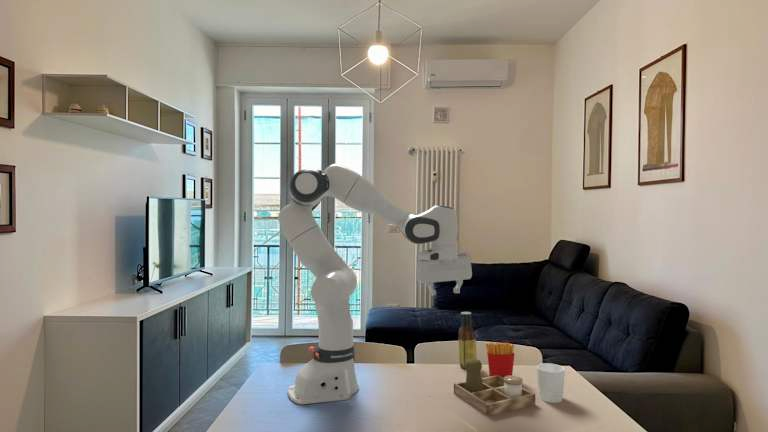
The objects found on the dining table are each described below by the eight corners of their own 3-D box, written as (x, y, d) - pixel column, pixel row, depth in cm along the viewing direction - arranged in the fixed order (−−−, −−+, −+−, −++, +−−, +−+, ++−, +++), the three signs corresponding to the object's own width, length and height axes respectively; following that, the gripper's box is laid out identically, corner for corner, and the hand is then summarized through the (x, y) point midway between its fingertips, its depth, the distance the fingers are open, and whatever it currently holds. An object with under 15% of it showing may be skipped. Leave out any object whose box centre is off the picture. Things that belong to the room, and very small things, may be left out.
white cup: (547, 407, 138) (547, 373, 138) (531, 396, 145) (531, 364, 145) (570, 404, 140) (570, 370, 140) (553, 393, 147) (554, 362, 147)
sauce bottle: (479, 365, 173) (479, 312, 172) (472, 371, 168) (472, 315, 167) (462, 362, 176) (462, 310, 176) (455, 367, 171) (455, 313, 170)
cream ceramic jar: (511, 406, 137) (511, 383, 137) (499, 399, 142) (499, 377, 141) (526, 403, 139) (526, 380, 139) (514, 396, 144) (514, 374, 144)
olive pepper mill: (485, 399, 141) (483, 362, 141) (465, 399, 142) (463, 363, 142) (484, 391, 147) (482, 356, 147) (464, 391, 148) (462, 356, 148)
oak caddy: (487, 418, 131) (487, 405, 131) (453, 395, 147) (453, 383, 146) (535, 406, 138) (535, 394, 138) (498, 386, 154) (498, 374, 154)
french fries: (512, 378, 160) (512, 340, 160) (515, 383, 156) (515, 344, 155) (485, 378, 161) (485, 340, 160) (487, 383, 156) (487, 344, 156)
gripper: (465, 251, 166) (465, 290, 166) (413, 254, 157) (414, 295, 158) (475, 252, 160) (475, 293, 160) (423, 255, 151) (423, 298, 152)
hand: (444, 294), depth 159 cm, fingers open, 8 cm apart
